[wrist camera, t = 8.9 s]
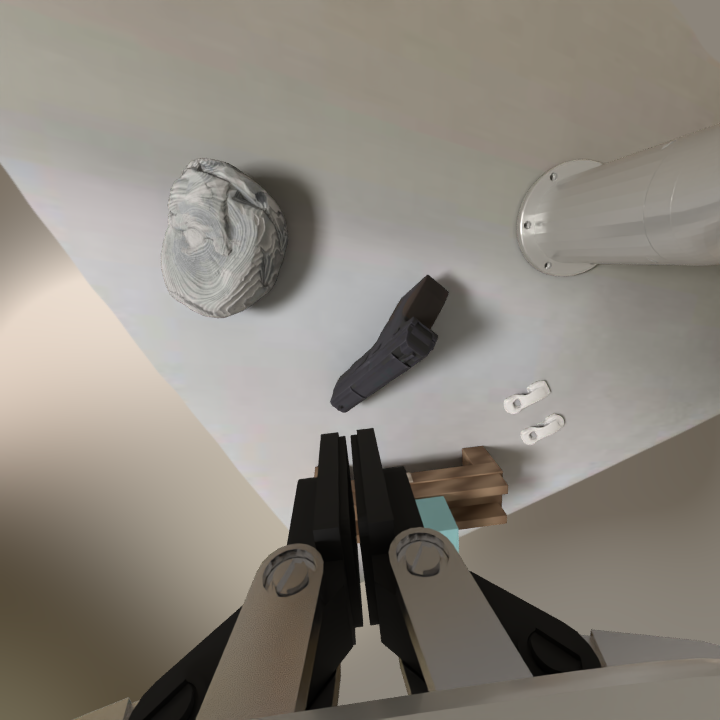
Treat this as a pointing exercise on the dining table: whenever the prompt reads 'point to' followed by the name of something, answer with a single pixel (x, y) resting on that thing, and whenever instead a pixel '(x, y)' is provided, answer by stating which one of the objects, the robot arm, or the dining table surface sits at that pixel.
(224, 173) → the decorative stone
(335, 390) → the handgun
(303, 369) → the dining table surface
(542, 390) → the white curved pieces
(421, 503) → the teal rectangular block
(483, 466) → the beam
